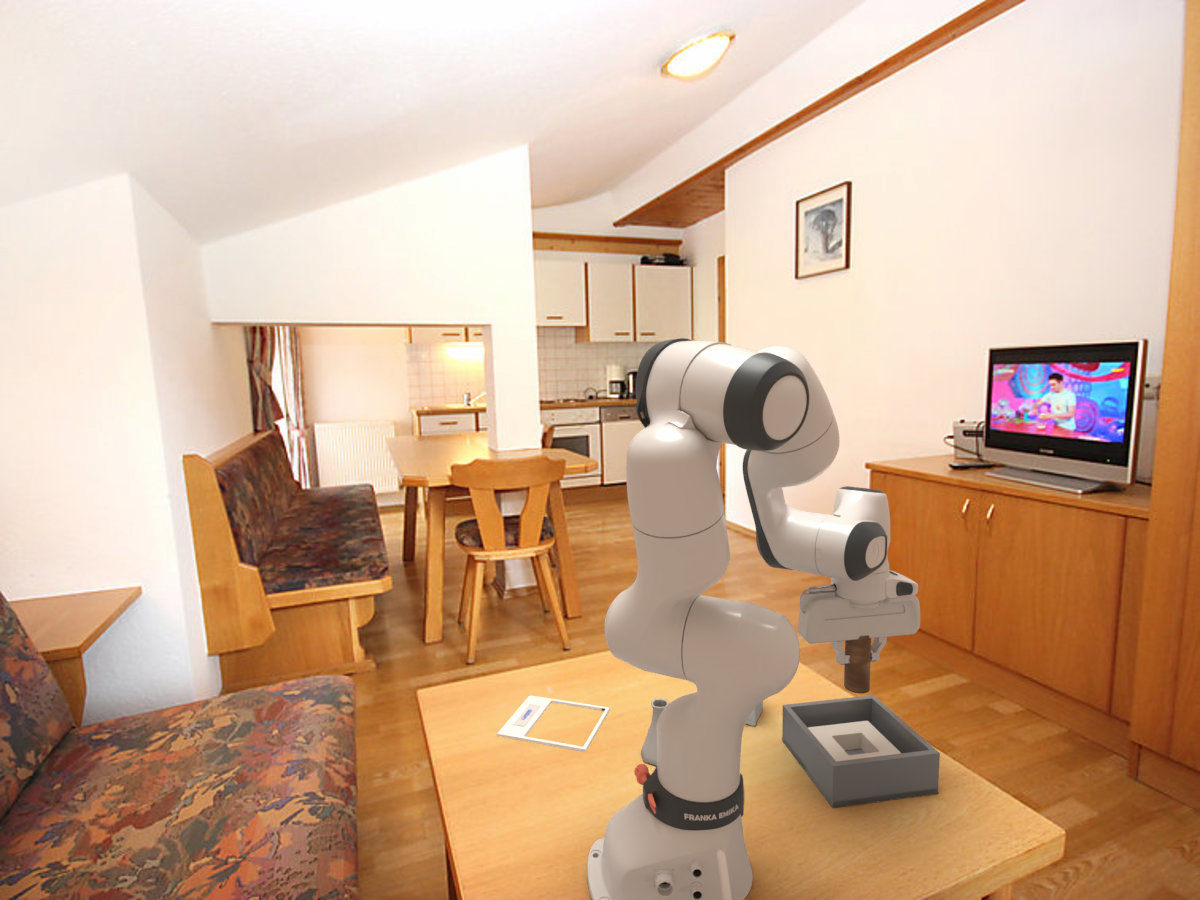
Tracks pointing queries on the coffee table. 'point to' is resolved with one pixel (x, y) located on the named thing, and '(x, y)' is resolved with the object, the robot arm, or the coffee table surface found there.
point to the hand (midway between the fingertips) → (857, 661)
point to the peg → (858, 665)
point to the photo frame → (532, 712)
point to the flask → (653, 733)
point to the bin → (859, 751)
